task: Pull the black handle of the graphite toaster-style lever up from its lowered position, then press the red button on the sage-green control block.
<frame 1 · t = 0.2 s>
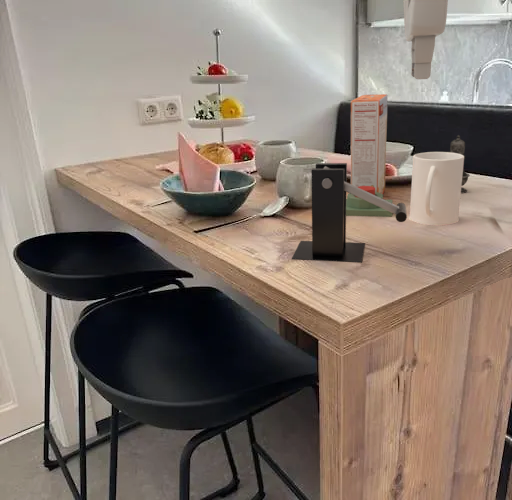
hand: (419, 78, 63), 25 cm above the table, tool pointing down, fingers open, 8 cm apart
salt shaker: (453, 191, 109), on the table
mug: (430, 227, 87), on the table
button block: (364, 215, 95), on the table
lever bracket: (329, 258, 75), on the table
press lever: (362, 194, 70), point 10 cm above the table, hinge at -25.0°
start button: (365, 192, 93), point 4 cm above the table, slide at 0.1 cm
cracker box: (367, 199, 107), on the table
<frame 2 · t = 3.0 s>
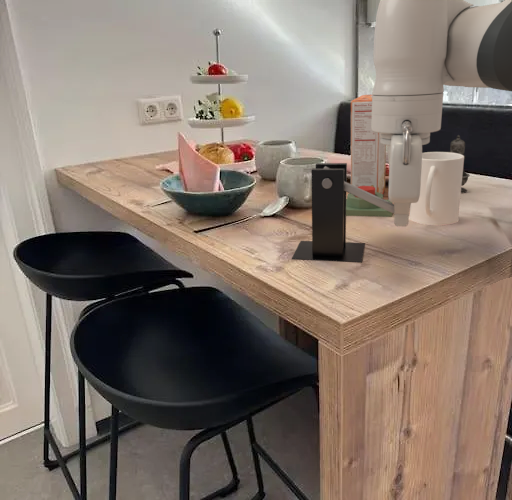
hand: (400, 218, 70), 6 cm above the table, tool pointing down, fingers closed on press lever, 5 cm apart
press lever: (362, 194, 70), point 10 cm above the table, hinge at -25.0°, touching gripper
everything else where it was.
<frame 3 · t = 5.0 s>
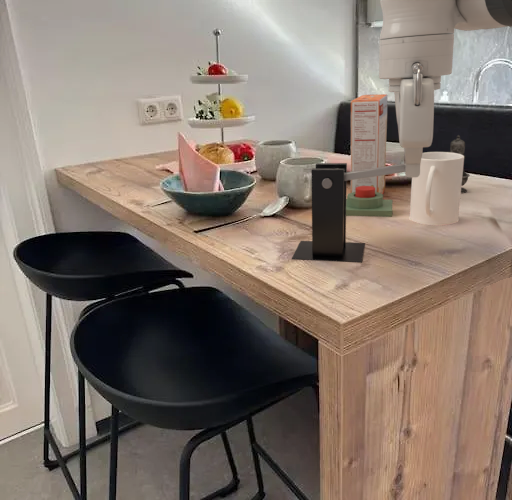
hand: (411, 171, 68), 13 cm above the table, tool pointing down, fingers closed on press lever, 5 cm apart
press lever: (366, 173, 69), point 13 cm above the table, hinge at 9.0°, touching gripper
everything else where it was.
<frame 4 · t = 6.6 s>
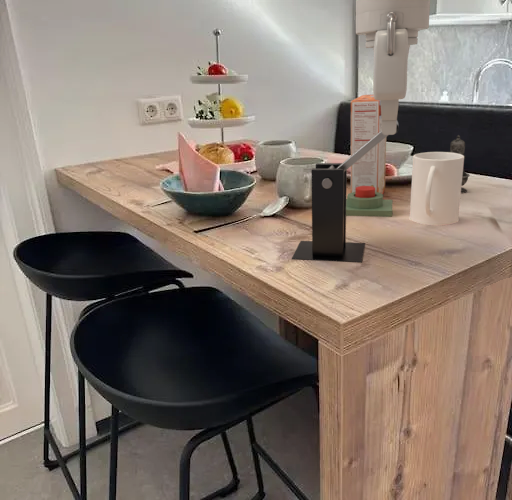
hand: (389, 130, 67), 19 cm above the table, tool pointing down, fingers closed on press lever, 5 cm apart
press lever: (358, 155, 69), point 15 cm above the table, hinge at 40.6°, touching gripper
everything else where it was.
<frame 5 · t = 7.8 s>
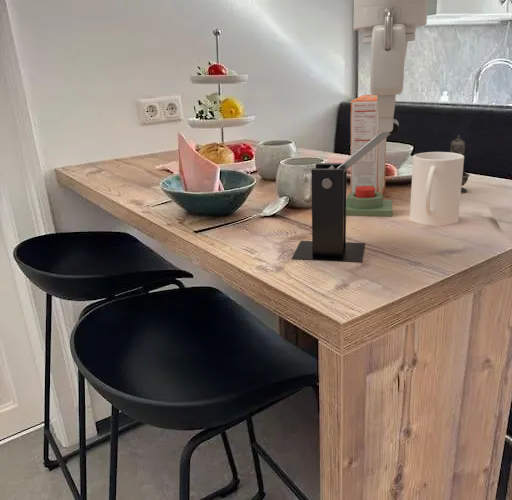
hand: (385, 127, 67), 19 cm above the table, tool pointing down, fingers open, 8 cm apart
press lever: (358, 155, 69), point 15 cm above the table, hinge at 40.2°
everything else where it was.
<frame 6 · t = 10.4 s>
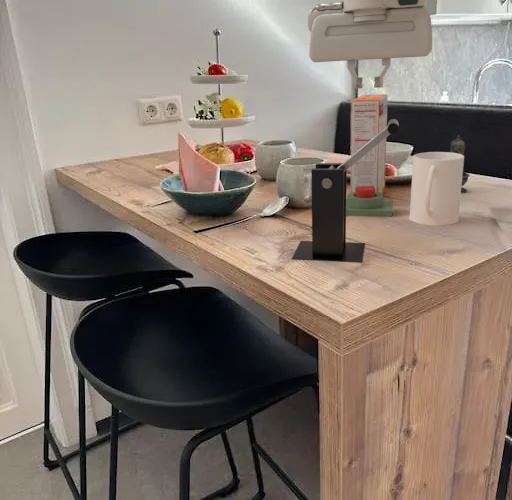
hand: (368, 87, 87), 23 cm above the table, tool pointing down, fingers closed
nothing on the table moved.
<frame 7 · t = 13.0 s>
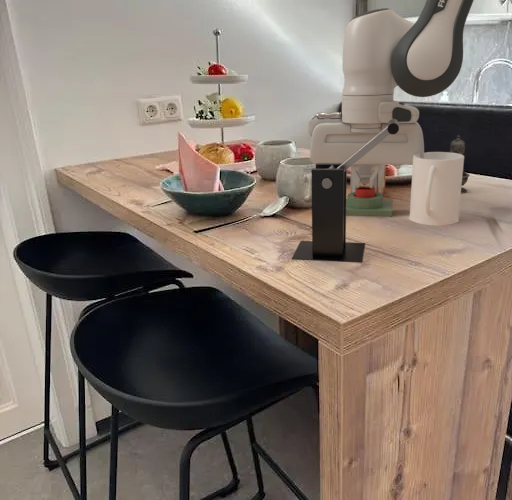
hand: (364, 188, 93), 5 cm above the table, tool pointing down, fingers closed, pressing on start button
start button: (365, 193, 93), point 4 cm above the table, slide at 0.0 cm, touching gripper
everything else where it was.
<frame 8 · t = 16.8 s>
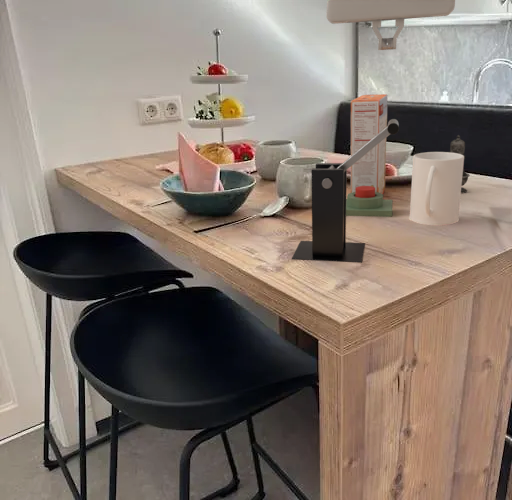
hand: (387, 49, 84), 29 cm above the table, tool pointing down, fingers closed
start button: (365, 192, 93), point 4 cm above the table, slide at 0.1 cm
everything else where it was.
at the end: press lever at +40° (first picture: -25°); start button pushed in 1.0 cm at the most during the clip, back to where it started at the end; start button slide at 0.1 cm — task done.
